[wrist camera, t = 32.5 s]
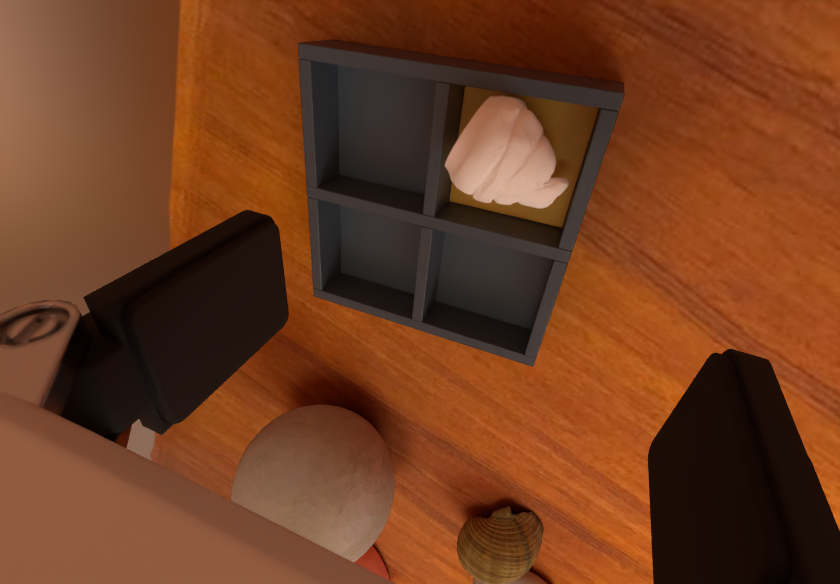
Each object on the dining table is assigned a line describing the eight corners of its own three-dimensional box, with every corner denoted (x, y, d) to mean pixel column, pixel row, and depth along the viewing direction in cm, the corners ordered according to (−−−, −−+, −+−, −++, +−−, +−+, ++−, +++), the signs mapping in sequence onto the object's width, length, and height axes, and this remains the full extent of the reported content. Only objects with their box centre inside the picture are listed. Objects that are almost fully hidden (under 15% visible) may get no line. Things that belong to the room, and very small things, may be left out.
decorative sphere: (444, 441, 43) (378, 603, 31) (377, 488, 52) (307, 626, 40) (324, 349, 42) (211, 478, 30) (278, 413, 52) (179, 531, 40)
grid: (331, 39, 27) (297, 42, 24) (624, 82, 22) (625, 92, 20) (336, 274, 37) (313, 296, 34) (540, 336, 32) (533, 367, 29)
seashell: (519, 471, 47) (462, 493, 43) (567, 528, 42) (509, 560, 38) (492, 527, 51) (438, 553, 47) (533, 585, 46) (476, 620, 42)
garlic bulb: (534, 217, 27) (518, 255, 23) (456, 160, 27) (426, 188, 23) (597, 143, 24) (592, 171, 19) (508, 78, 23) (484, 92, 19)
